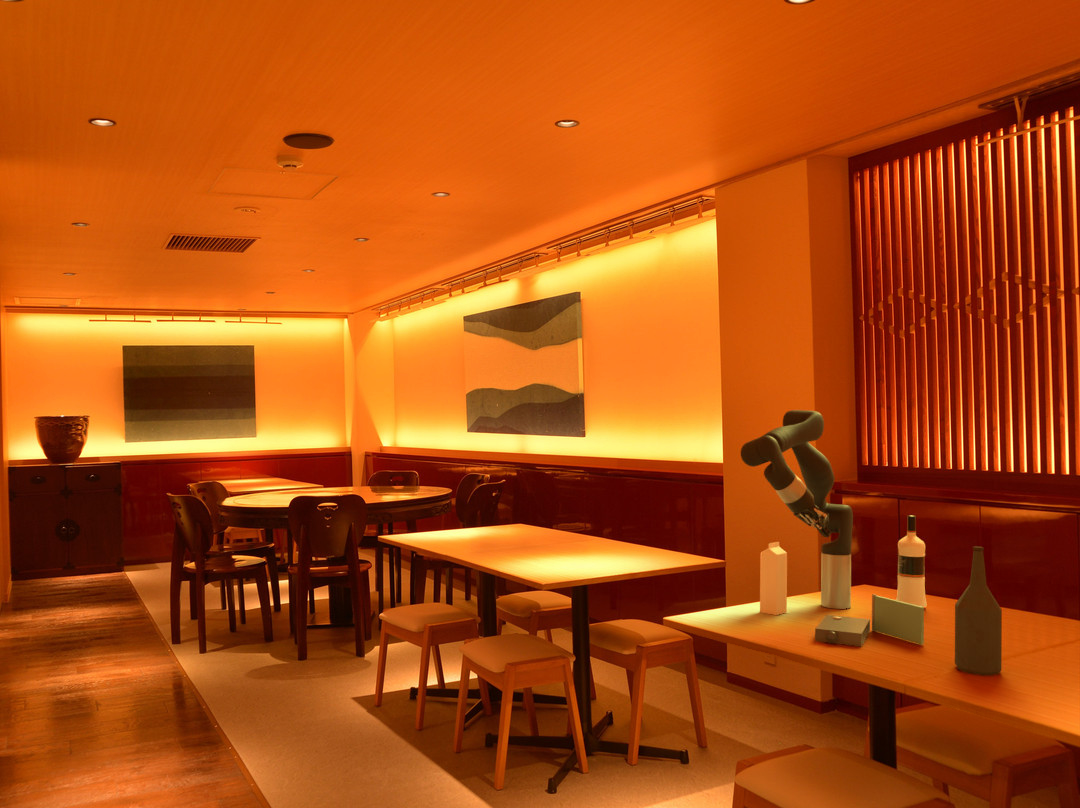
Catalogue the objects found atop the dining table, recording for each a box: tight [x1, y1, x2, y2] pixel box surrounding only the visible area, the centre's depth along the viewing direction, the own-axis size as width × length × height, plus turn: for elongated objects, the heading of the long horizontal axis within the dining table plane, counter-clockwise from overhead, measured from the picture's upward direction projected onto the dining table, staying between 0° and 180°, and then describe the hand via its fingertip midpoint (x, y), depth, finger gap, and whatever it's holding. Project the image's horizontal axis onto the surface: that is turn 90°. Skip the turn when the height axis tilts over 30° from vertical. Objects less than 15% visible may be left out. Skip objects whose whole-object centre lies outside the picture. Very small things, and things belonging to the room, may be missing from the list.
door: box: [871, 593, 925, 645], centre depth 250 cm, size 18×1×10 cm, turn 24°
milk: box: [759, 541, 788, 616], centre depth 281 cm, size 6×6×22 cm
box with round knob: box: [814, 614, 871, 647], centre depth 250 cm, size 22×12×4 cm, turn 154°
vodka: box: [895, 515, 928, 608], centre depth 292 cm, size 9×9×30 cm
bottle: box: [954, 546, 1003, 676], centre depth 218 cm, size 10×10×30 cm
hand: (827, 534), depth 255 cm, fingers closed
